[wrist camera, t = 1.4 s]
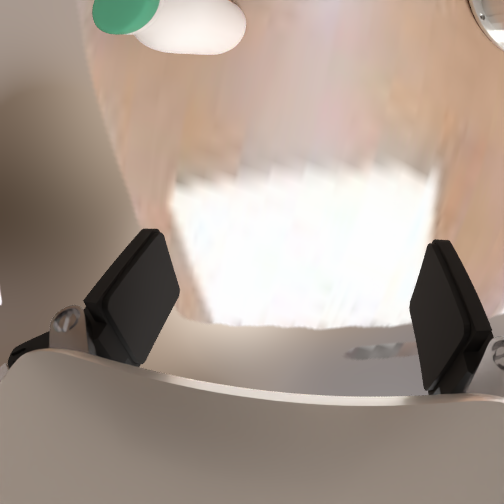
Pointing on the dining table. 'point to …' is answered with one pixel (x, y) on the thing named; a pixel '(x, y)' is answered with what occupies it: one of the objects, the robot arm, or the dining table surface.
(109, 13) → the milk bottle
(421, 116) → the dining table surface
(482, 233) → the dining table surface
